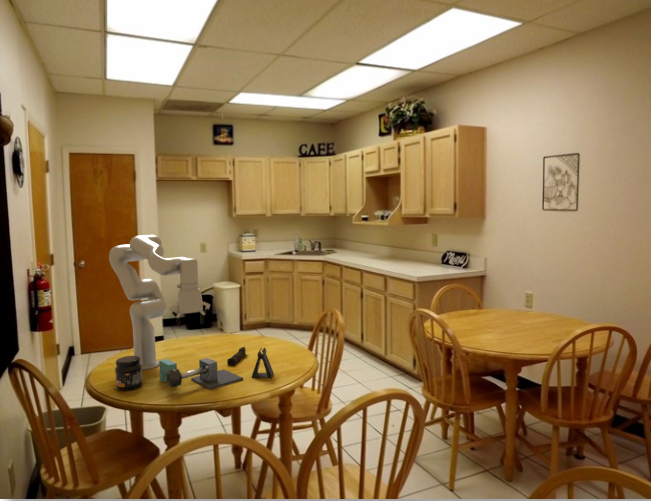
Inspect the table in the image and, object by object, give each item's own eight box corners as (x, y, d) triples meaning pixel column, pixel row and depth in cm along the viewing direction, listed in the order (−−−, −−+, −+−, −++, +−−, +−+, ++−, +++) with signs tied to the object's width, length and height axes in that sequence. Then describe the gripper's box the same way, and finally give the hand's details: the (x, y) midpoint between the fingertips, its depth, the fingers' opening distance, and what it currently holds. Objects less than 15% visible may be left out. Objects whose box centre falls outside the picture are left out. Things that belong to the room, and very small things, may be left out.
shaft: (167, 385, 192) (166, 368, 191) (208, 373, 205) (208, 358, 204) (175, 389, 187) (174, 372, 186) (217, 377, 200) (216, 361, 199)
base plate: (191, 380, 204) (191, 378, 204) (223, 371, 215) (223, 369, 215) (210, 389, 193) (210, 387, 192) (243, 379, 204) (242, 377, 203)
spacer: (160, 380, 204) (159, 360, 204) (167, 378, 207) (166, 358, 206) (169, 386, 198) (168, 365, 197) (177, 383, 200) (176, 363, 199)
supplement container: (111, 387, 197) (110, 359, 196) (135, 380, 205) (134, 353, 204) (123, 393, 190) (121, 364, 189) (147, 386, 198) (146, 358, 197)
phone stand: (251, 378, 205) (250, 351, 204) (253, 373, 211) (253, 347, 210) (271, 378, 205) (271, 351, 204) (273, 373, 211) (272, 347, 210)
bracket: (199, 379, 202) (199, 359, 202) (208, 376, 205) (207, 357, 205) (209, 383, 197) (208, 364, 196) (217, 381, 199) (217, 361, 199)
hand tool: (234, 366, 222) (234, 357, 222) (227, 366, 223) (226, 356, 223) (250, 355, 240) (250, 346, 240) (242, 354, 241) (242, 345, 241)
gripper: (169, 289, 198) (171, 329, 199) (211, 286, 205) (212, 324, 206) (167, 286, 204) (169, 325, 206) (207, 283, 212) (208, 321, 213)
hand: (190, 325), depth 206 cm, fingers open, 9 cm apart
